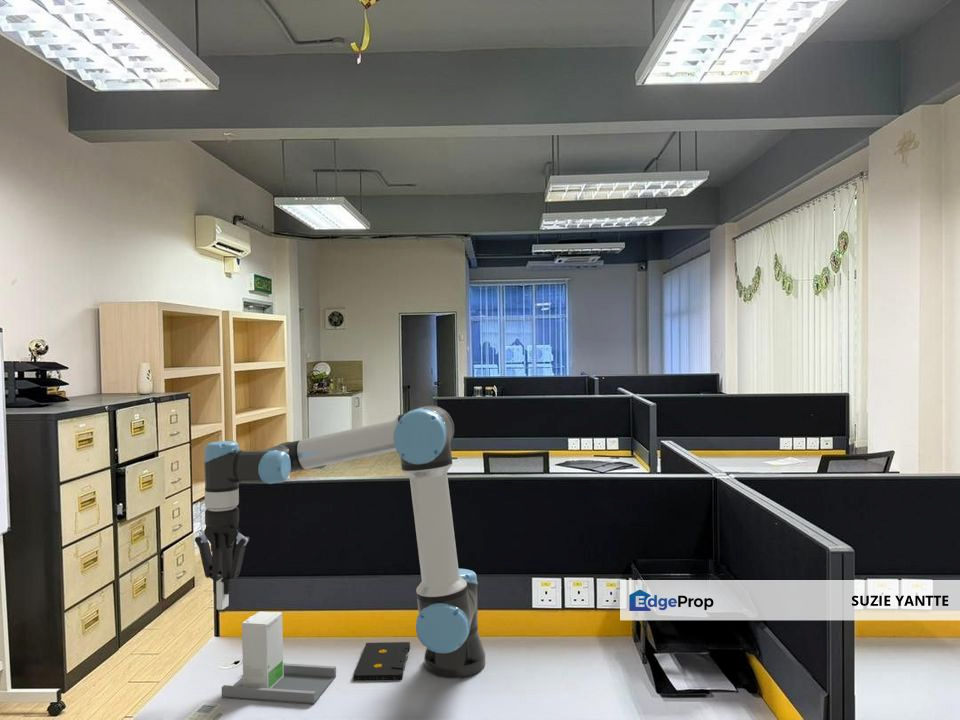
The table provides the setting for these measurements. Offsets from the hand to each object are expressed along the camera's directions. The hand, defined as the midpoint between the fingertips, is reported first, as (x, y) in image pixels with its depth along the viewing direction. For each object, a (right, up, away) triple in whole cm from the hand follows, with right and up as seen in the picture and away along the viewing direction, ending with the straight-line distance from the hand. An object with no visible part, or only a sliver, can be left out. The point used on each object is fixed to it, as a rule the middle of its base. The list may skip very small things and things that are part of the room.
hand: (222, 607), depth 156 cm
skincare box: (+10, -18, -2) cm, 20 cm away
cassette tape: (+37, -18, +9) cm, 42 cm away
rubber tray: (+14, -18, -2) cm, 23 cm away
